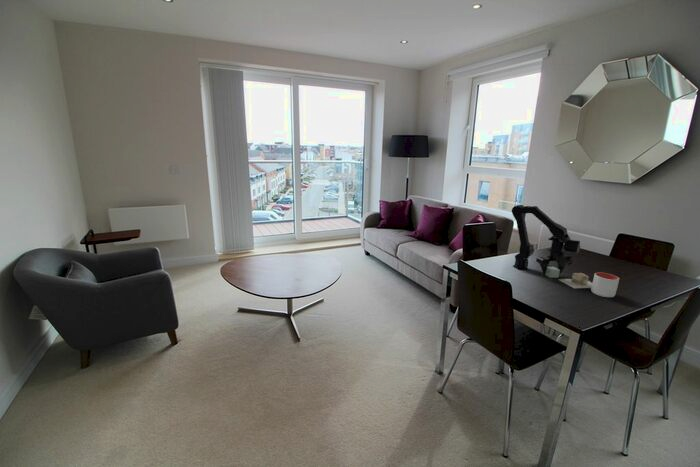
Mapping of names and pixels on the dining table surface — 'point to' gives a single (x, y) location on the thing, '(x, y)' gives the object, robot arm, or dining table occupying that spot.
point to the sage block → (552, 272)
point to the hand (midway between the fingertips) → (551, 274)
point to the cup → (604, 284)
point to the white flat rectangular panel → (568, 282)
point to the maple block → (579, 279)
